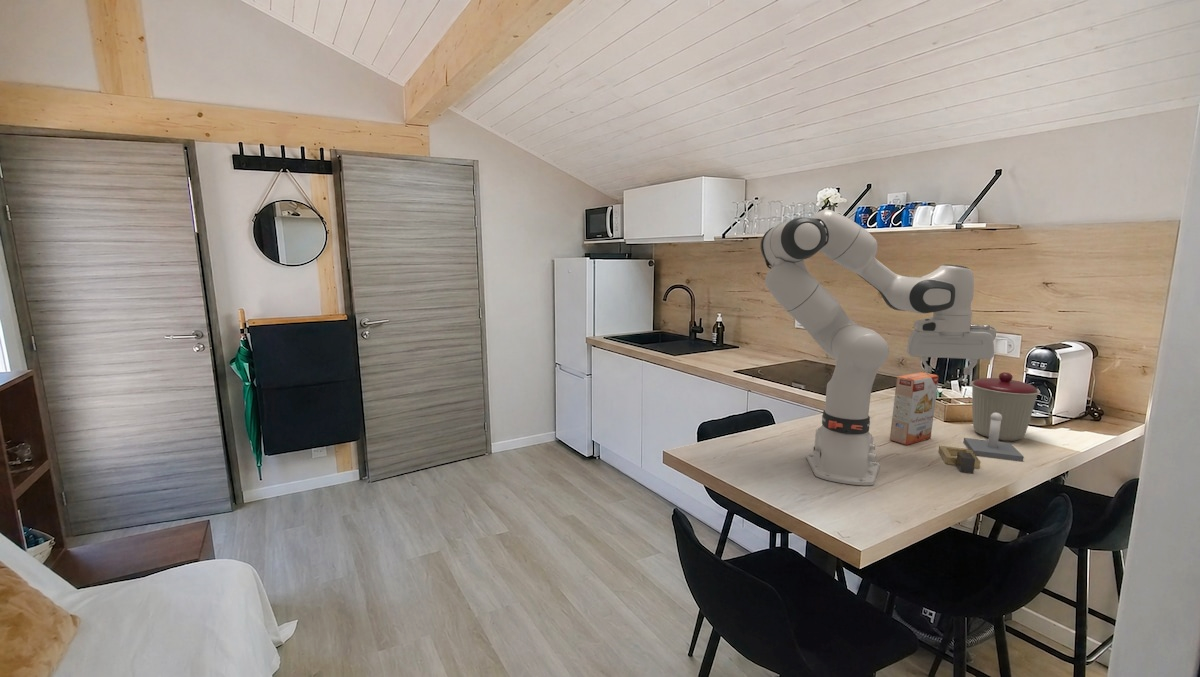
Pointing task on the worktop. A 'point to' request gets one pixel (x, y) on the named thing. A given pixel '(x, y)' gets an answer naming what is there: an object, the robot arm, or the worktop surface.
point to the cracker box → (913, 407)
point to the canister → (1003, 405)
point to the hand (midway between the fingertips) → (947, 373)
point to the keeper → (994, 443)
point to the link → (960, 458)
